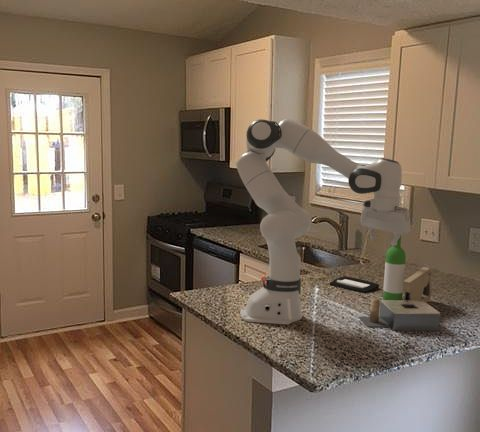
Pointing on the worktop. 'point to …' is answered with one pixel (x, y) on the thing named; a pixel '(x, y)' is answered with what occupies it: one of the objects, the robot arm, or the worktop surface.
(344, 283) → the light switch
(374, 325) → the mat
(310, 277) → the worktop surface
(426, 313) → the grey box with hole
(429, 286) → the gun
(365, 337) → the worktop surface
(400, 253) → the wine bottle
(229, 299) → the worktop surface
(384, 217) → the robot arm
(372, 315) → the tan rounded peg
